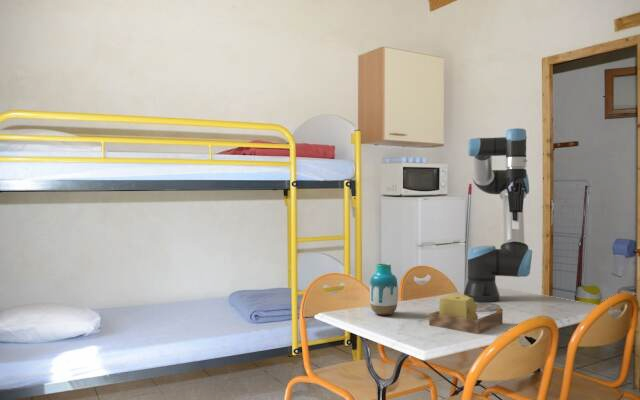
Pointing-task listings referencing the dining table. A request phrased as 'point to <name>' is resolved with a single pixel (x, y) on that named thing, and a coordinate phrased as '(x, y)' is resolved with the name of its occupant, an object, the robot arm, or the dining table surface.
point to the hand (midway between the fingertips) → (516, 228)
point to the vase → (383, 290)
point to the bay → (466, 322)
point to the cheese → (458, 306)
